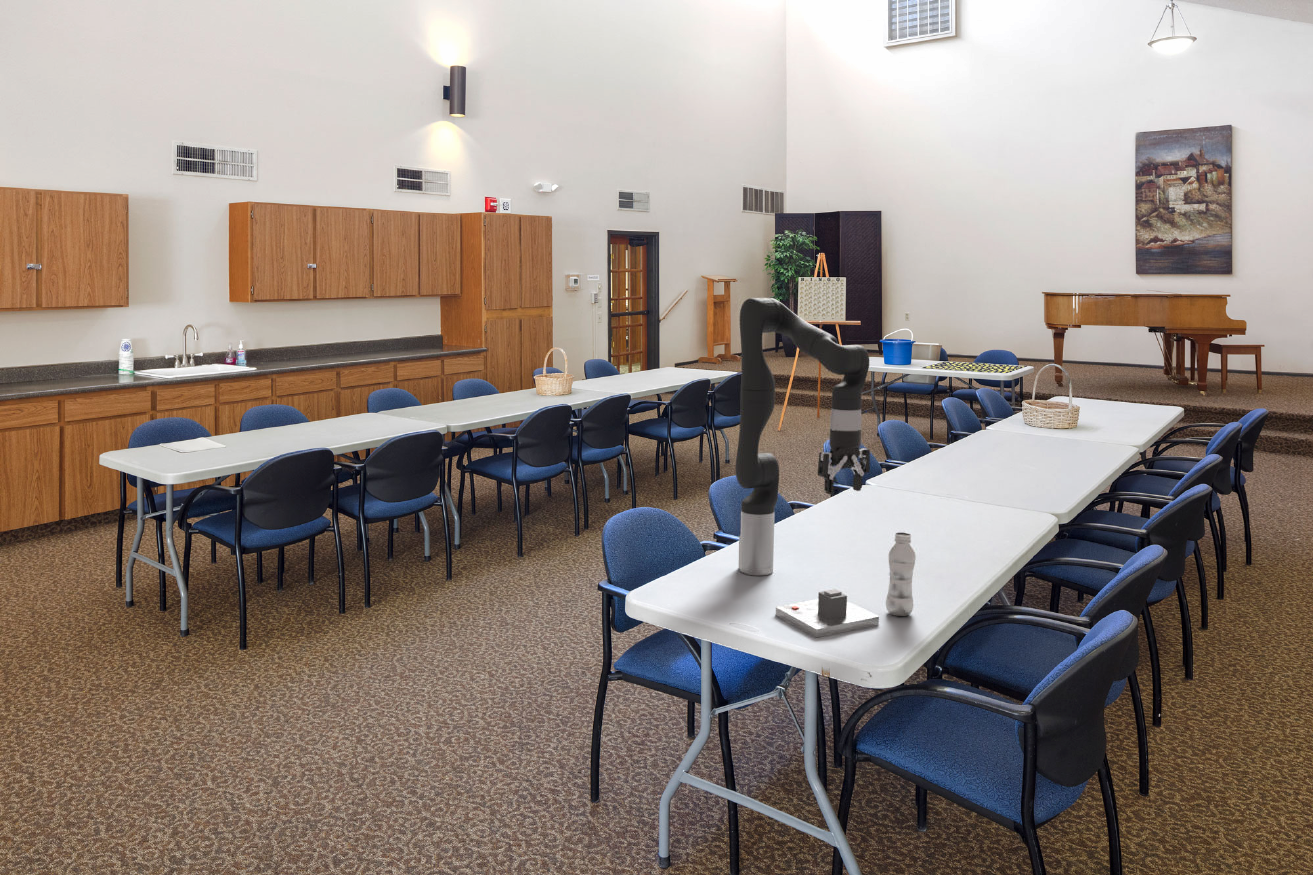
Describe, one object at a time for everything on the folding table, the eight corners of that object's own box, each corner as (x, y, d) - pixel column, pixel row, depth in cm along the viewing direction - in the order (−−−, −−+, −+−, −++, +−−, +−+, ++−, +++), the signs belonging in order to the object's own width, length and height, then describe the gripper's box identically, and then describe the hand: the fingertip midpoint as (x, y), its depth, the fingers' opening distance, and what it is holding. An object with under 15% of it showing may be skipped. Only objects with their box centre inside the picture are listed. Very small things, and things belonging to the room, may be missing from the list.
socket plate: (775, 615, 214) (775, 603, 213) (835, 603, 222) (835, 592, 221) (816, 637, 200) (816, 625, 199) (878, 624, 208) (879, 613, 207)
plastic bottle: (907, 609, 218) (911, 530, 215) (916, 619, 211) (921, 537, 208) (881, 609, 218) (885, 530, 215) (889, 619, 211) (893, 538, 208)
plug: (817, 620, 210) (818, 589, 209) (832, 617, 212) (833, 586, 211) (830, 627, 206) (832, 596, 205) (845, 624, 208) (847, 593, 207)
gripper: (858, 423, 223) (855, 486, 226) (812, 427, 217) (810, 492, 219) (878, 427, 217) (875, 492, 219) (831, 431, 210) (829, 498, 213)
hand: (843, 492), depth 219 cm, fingers open, 8 cm apart
